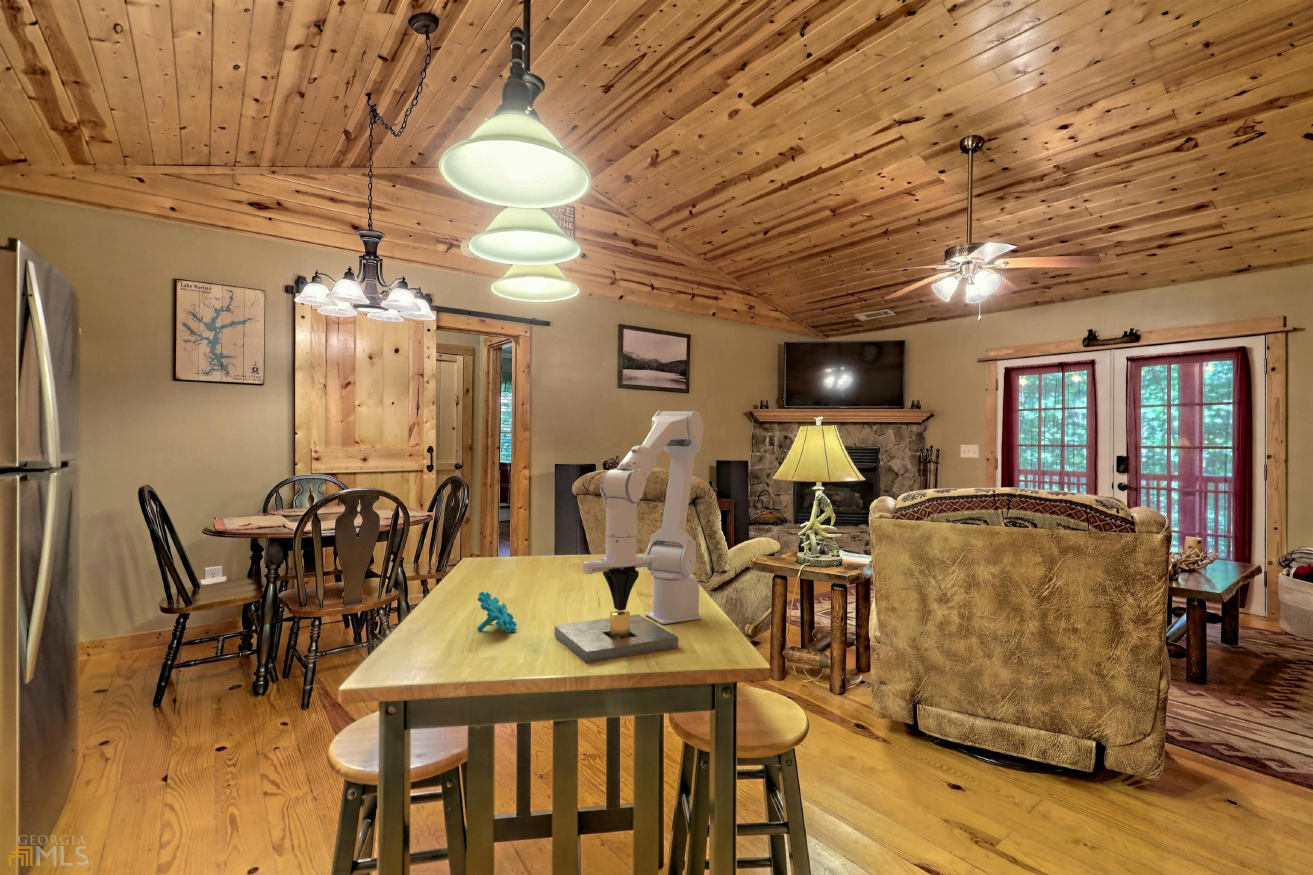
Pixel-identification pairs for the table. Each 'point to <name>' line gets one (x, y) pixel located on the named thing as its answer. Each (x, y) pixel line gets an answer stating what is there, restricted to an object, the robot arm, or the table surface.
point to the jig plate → (597, 646)
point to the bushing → (619, 624)
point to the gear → (496, 613)
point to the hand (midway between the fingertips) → (619, 608)
